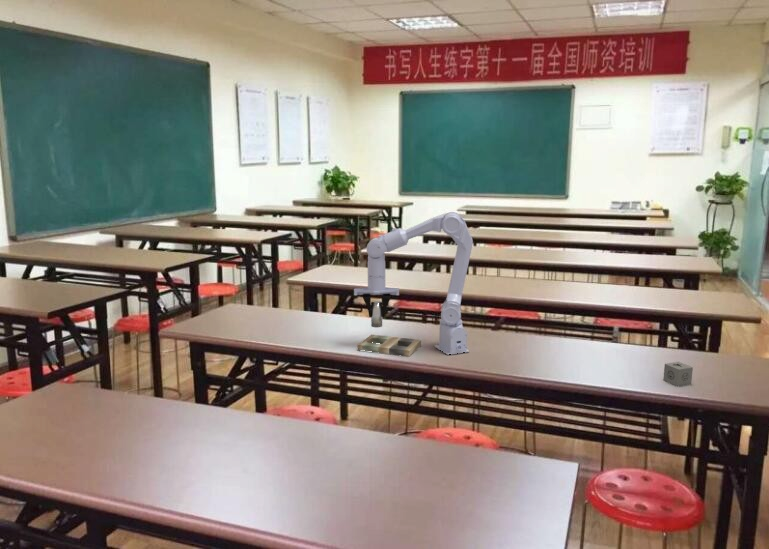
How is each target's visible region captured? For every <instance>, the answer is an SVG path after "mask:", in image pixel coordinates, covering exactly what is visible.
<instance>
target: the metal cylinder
mask: <svg viewBox="0 0 769 549" xmlns="http://www.w3.org/2000/svg"><path fill="white" fill-rule="evenodd" d="M382 309H383V301H381V300H373V301H371V317H370V319H371V320H370V322H371V324H370V326H371V328H382V327H383V317H382Z"/></svg>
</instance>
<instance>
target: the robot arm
mask: <svg viewBox="0 0 769 549" xmlns="http://www.w3.org/2000/svg"><path fill="white" fill-rule="evenodd" d="M432 231H433V232H438V233H441V232H442V231H443V232H444V234H446V235H448V236H449V237H451V238H452V240H453V241H454V242H455V244H456V245H457V246H456V252H455V256H454V261H453V266H452V272H451V276H450V279H449V280H450V282H449V286H448V290H447V293H446V298H445V300H444V302H442V304H441V311H440V312H441V313H440V320H439V338H438V339H439V344H435V345H434V348H436V349H438V350H439V351H440V350H441V352H442V351H443V352H442V353H444V354H445V353H446V354H445V355H447V356H450V355H449V354H451V355H457V353H458V354H464V353H463V352H465V353H469V352H470V350H469V349H468V346H467V345H468V333H467V330H466V329H465V328H464V327H463V326H464V325H463V320H462V319H461V318H462V313H461V312H462V311H461V310H462V307H461V302H462V296H463V292H464V288H465V281H466V276H467V273H468V267H469V263H470V259H471V254H472V249H473V243H474V241H473V237H472V235H471V232H470V231H469V228H468V226H467V223H466V220H465V219H464V218H463V217H462V216H461V215H460V214H459V213H458V212H456V211H450V212H447V213H445V214H440V215H436V216H433V217H431V218H429V219H427V220H424V221H423V222H420V223H418V224H415V225H414V226H411V227H409V228H407V229H403V228H400V227H399V228H397V227H394V228H391V231H389V232H387V233H385V234H378V237H374V238H372V239H371V240H370V241H369V242H368V243H367V245H366V252H367V287H359V288H357V287H356V288H354V289H353V296H362V298H363V301H364V304H365V306H366V308H367V312H368V318H371V302H372V301H371V300H372V298H371V296H382V318H385V313H386V309H387V306H388V305H389V301H390V300H391V295H392V296H400V288H399V287H396V288H395V287H386V260H385V259H386V255H385V253H391V252H392V251H395V250H398V249H400V248H402V247H405V246H406V245H408V242H409V240H410V239H413V238H416V237H419V236H421V235H423V234H427V233H429V232H432Z"/></svg>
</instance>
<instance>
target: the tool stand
mask: <svg viewBox="0 0 769 549" xmlns="http://www.w3.org/2000/svg"><path fill="white" fill-rule="evenodd" d="M372 342H373V343H372ZM376 343H380V344H376ZM421 346H422V339H416V338H406V337H399V336H398V337H397V336H388V335H382V334H381V335H379V334H370V335H369V336H368V337H366V338H365V339H363V340H362V341H360V342H359V343H358V344H357V351H358V350H365V351H372V352H371V353H374V352H379V353H378V354H382V353H385V354H384V355H391V354H394V355H393V356H399V355H401V357H407V356H409V358H410V357H411V356H412V355H414V353H415V352H416V351H418V349H419V348H421ZM365 351H364V352H365Z"/></svg>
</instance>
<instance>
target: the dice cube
mask: <svg viewBox="0 0 769 549" xmlns="http://www.w3.org/2000/svg"><path fill="white" fill-rule="evenodd" d="M693 371H694V367H692V366H691V365H687V364H685V363H683V362H680V361H675V362H667V363H664V368H663V380H662V381H663V382H665V383H668V384H670V385H672V386H675V387H676V388H679V387H683V385H684V386H689V384H690V385H692V382H693V380H692V379H693V378H692V377H693ZM678 386H679V387H678Z"/></svg>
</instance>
